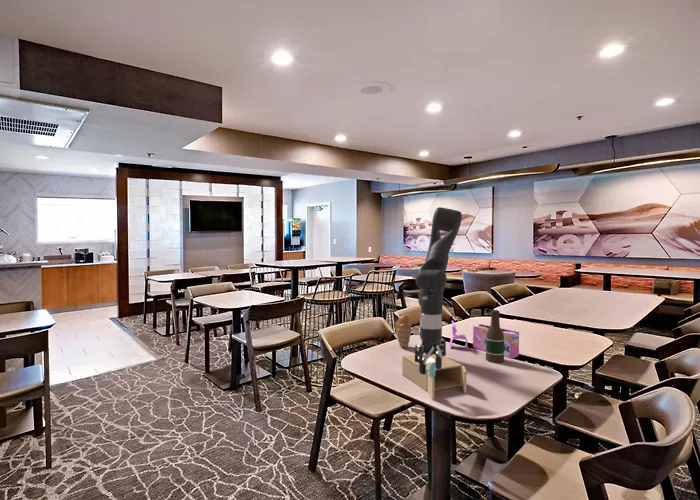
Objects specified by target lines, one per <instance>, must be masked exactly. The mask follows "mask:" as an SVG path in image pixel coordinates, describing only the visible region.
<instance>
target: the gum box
mask: <svg viewBox="0 0 700 500" xmlns="http://www.w3.org/2000/svg"><path fill="white" fill-rule="evenodd" d="M489 328H490V325H488V324H478V325H473V326H472V348H473V349H474V350H475V349H476V350H478V351H482V352H485V353H486V334H487V331H488V330H489ZM500 329H501V330H502V332H503V334H504V358H506V359H510V360H512V359H514V358H517V357H519V356H520V346H519V345H520V332H519V331H516V330H511V329H505V328H501V327H500Z"/></svg>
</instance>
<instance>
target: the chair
mask: <svg viewBox="0 0 700 500" xmlns="http://www.w3.org/2000/svg"><path fill="white" fill-rule="evenodd" d="M451 323H452V325H451V330H452V331H451V332H452V334H451V336H450V340H449V341H450V342H449V349H450V350H451V349H452V345H453V340H459V339H460V340H465V345H464V347H465V349H466V350H468V347H469V346H468V345H469V344H468V342H469V341H468V338H467V336H466V334H465V333H463V334H460V333H459V334H458V333H457V331H458V330H457V328H456V324H455V322H454V320H451Z"/></svg>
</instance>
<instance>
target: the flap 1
mask: <svg viewBox="0 0 700 500" xmlns="http://www.w3.org/2000/svg"><path fill="white" fill-rule="evenodd" d="M435 369H436V363H434V362H430V363H429V371H428V391H427V394H428V396H429V397H430V399H431V401H435V390H434V377H435Z"/></svg>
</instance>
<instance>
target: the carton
mask: <svg viewBox="0 0 700 500" xmlns="http://www.w3.org/2000/svg"><path fill="white" fill-rule="evenodd" d="M424 355H426V354H425V353H424ZM435 358H437V357H435V355H434V354H433V355H431V356H430V357H429V359H427V361H426V363H425V364H426V374H425V375H423V374H420V372H419V363H418V362H415V354H409V355H402V360H401V361H402V362H401V363H402V364H401V365H402V367H401V369H402V374H401V376H403V378H406V379H407V380H408V381H411V383H413V384H415V385H416V386H417V387H419V388H420V389H422V390H424V392H426V393H428V371H429V363H430V362H434V363H435ZM418 359H419V356H418ZM422 360H424V357H423V359H422ZM462 366H463V365H462V364H461V363H459V362H456V361H455V360H453V359H450V358H448V357H447V356H443V358H442V367H441V369H435V377H434V391H437V390H438V391H439V390H443V389H450V388H454V387H462Z"/></svg>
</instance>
